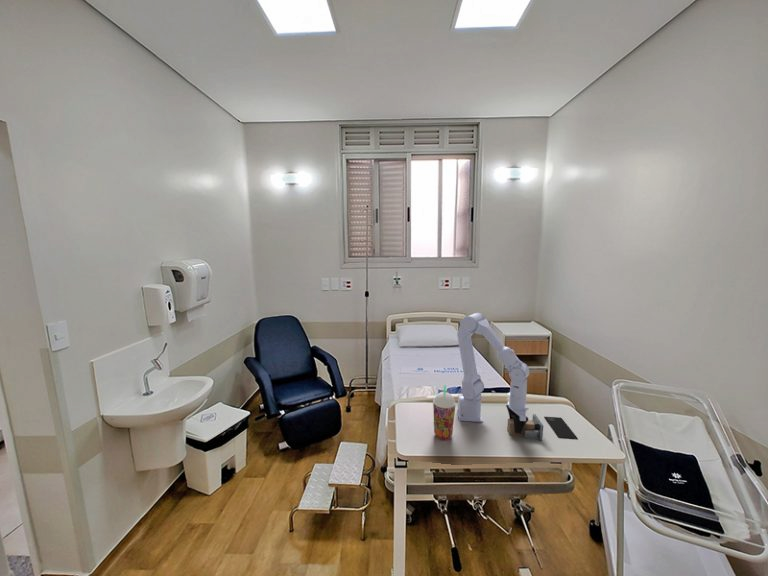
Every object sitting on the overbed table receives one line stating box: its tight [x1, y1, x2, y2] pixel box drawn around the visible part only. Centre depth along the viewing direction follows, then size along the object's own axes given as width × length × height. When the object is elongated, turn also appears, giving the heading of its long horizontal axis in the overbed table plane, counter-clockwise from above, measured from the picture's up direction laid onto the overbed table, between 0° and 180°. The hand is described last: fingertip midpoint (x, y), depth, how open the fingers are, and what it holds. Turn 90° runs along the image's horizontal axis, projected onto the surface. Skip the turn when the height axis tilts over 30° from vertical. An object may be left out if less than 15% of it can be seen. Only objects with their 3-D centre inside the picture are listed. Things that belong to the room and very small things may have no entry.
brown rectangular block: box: [506, 418, 535, 437], centre depth 122 cm, size 9×3×5 cm, turn 84°
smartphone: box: [543, 416, 579, 440], centre depth 126 cm, size 7×1×15 cm
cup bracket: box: [523, 413, 544, 442], centre depth 121 cm, size 6×8×6 cm
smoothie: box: [432, 385, 457, 441], centre depth 119 cm, size 8×8×20 cm
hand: (515, 428), depth 122 cm, fingers open, 5 cm apart
